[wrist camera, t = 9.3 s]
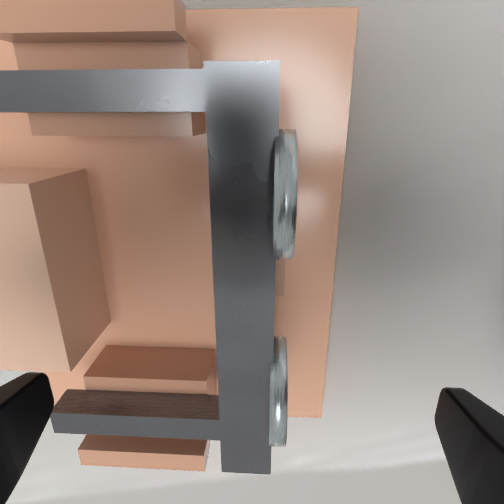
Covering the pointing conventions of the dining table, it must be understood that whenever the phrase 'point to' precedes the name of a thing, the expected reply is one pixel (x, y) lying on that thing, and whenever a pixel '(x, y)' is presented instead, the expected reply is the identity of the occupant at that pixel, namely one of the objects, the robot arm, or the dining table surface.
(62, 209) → the display stand
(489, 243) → the dining table surface
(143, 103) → the glasses frame
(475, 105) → the dining table surface
